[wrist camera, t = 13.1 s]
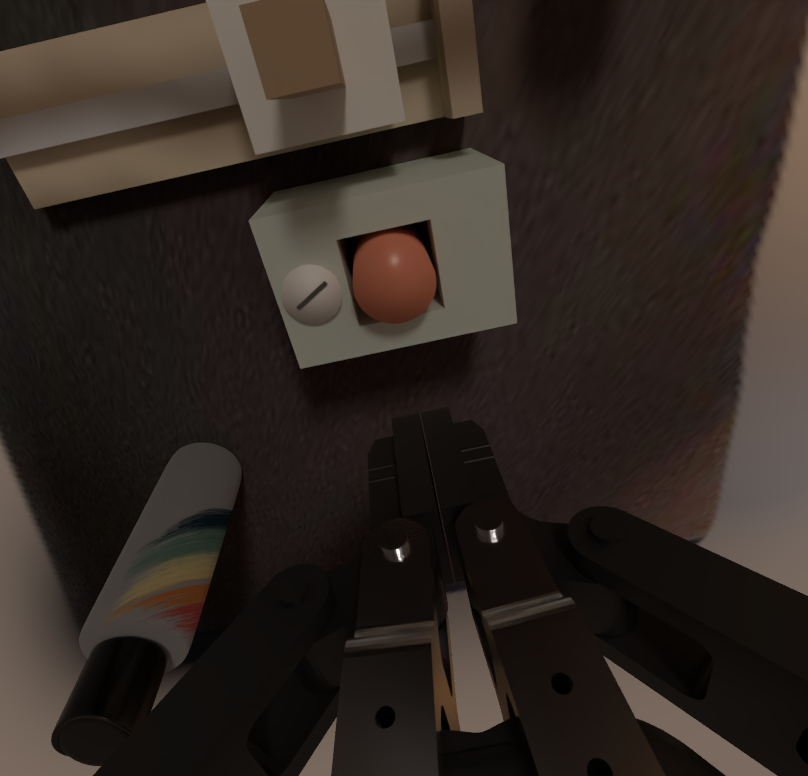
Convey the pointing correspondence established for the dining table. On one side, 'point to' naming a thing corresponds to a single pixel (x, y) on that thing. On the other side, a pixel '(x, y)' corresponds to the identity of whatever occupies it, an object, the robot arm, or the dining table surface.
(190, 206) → the dining table surface
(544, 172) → the dining table surface
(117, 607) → the lotion bottle
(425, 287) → the gauge plunger
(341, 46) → the carriage
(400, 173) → the cabinet
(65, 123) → the rail
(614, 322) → the dining table surface
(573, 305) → the dining table surface
